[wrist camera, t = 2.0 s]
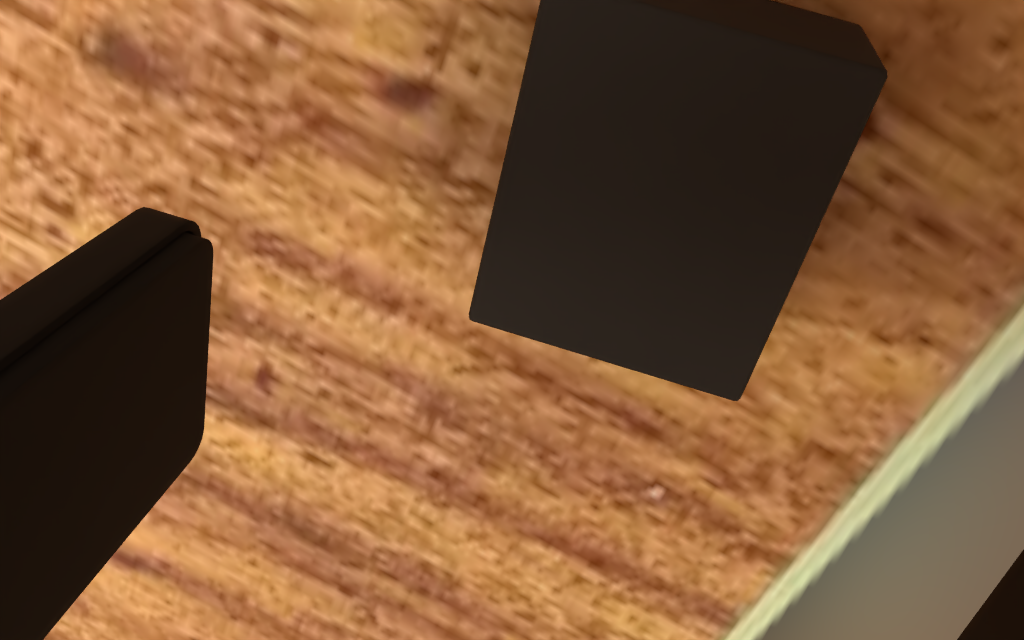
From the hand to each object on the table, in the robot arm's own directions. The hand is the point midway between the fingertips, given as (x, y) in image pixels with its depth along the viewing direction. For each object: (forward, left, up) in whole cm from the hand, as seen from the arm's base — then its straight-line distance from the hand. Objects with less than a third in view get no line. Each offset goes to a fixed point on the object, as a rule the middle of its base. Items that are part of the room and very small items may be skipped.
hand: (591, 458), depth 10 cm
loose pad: (-1, 0, -9) cm, 8 cm away
